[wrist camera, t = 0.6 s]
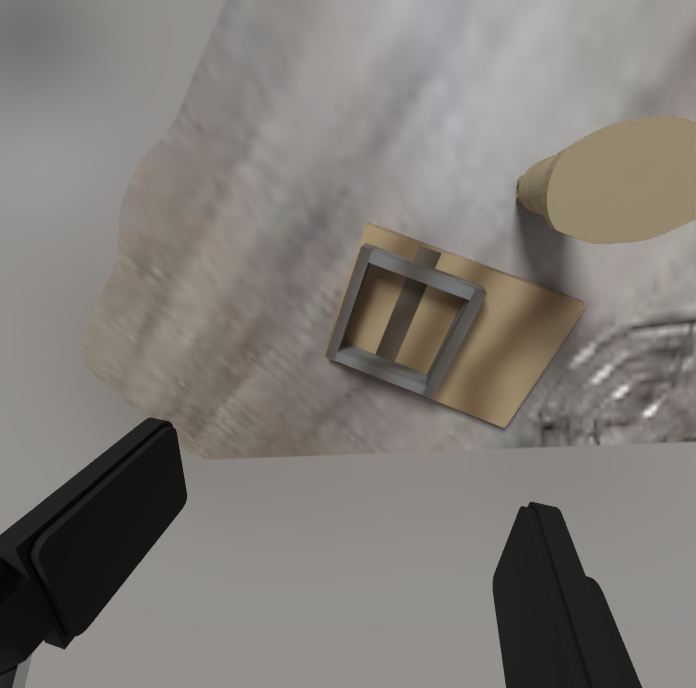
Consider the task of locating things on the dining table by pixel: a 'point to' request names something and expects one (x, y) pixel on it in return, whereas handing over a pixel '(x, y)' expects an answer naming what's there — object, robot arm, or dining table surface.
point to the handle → (618, 182)
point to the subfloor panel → (447, 325)
